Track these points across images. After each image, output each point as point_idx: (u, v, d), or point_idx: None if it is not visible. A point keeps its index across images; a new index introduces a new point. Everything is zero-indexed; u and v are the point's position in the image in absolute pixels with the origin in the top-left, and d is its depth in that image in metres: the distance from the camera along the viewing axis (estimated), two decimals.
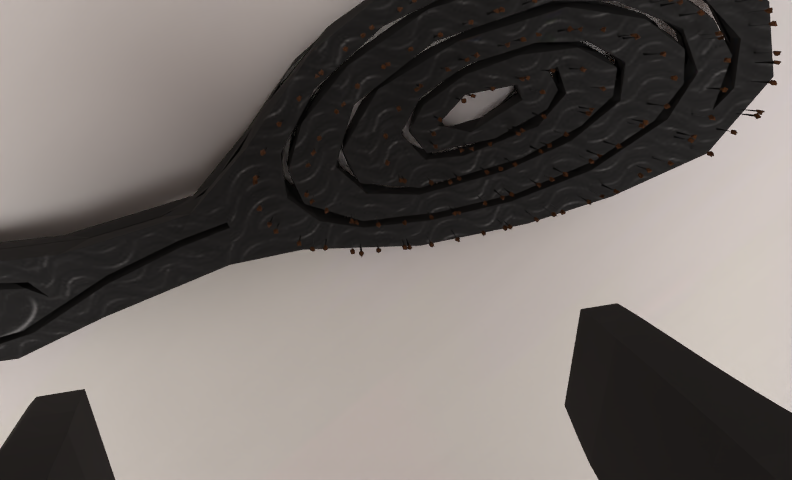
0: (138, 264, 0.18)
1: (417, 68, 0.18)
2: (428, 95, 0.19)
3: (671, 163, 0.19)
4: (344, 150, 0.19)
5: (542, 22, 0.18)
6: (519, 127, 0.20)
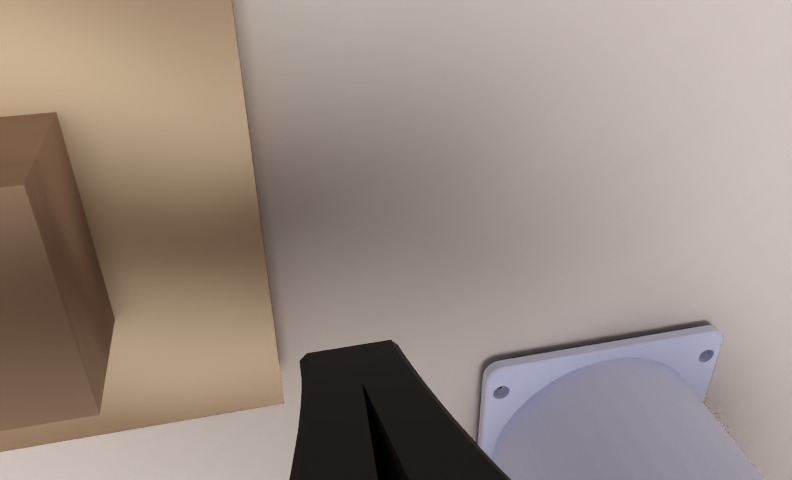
0: None
1: None
2: None
3: None
4: None
5: None
6: None
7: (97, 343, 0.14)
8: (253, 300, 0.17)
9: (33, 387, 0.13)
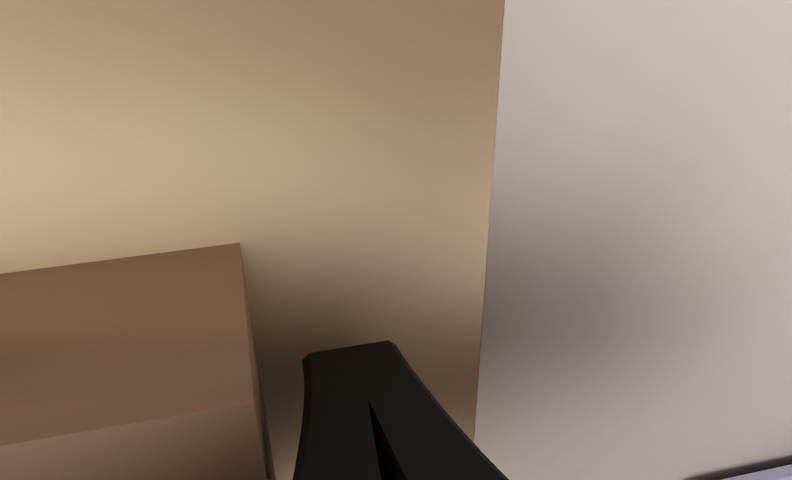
0: None
1: None
2: None
3: None
4: None
5: None
6: None
7: None
8: None
9: None
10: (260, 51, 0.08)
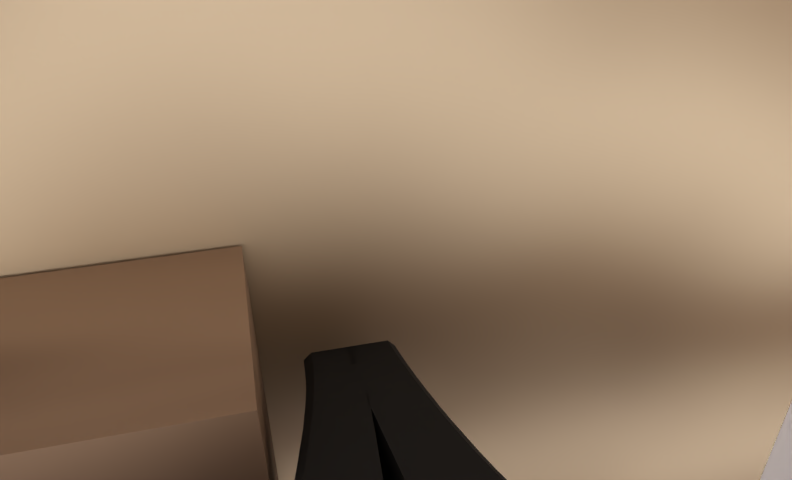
0: None
1: None
2: None
3: None
4: None
5: None
6: None
7: None
8: (780, 389, 0.14)
9: None
10: (772, 9, 0.10)
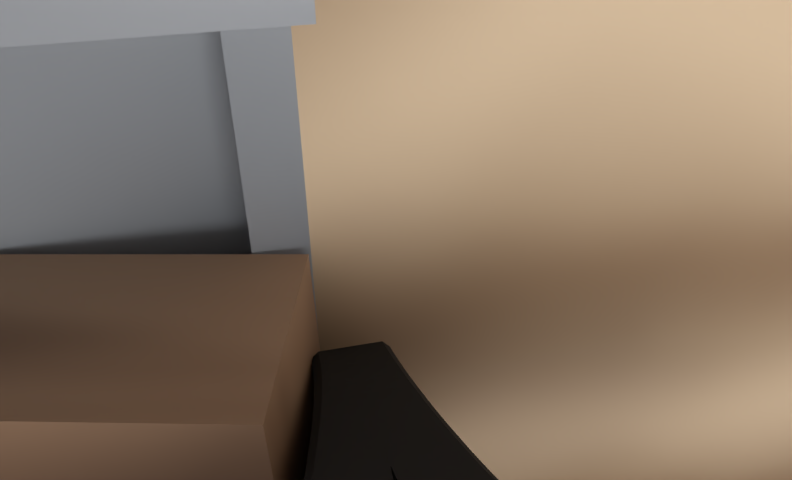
0: None
1: None
2: None
3: None
4: None
5: None
6: None
7: None
8: None
9: None
10: None
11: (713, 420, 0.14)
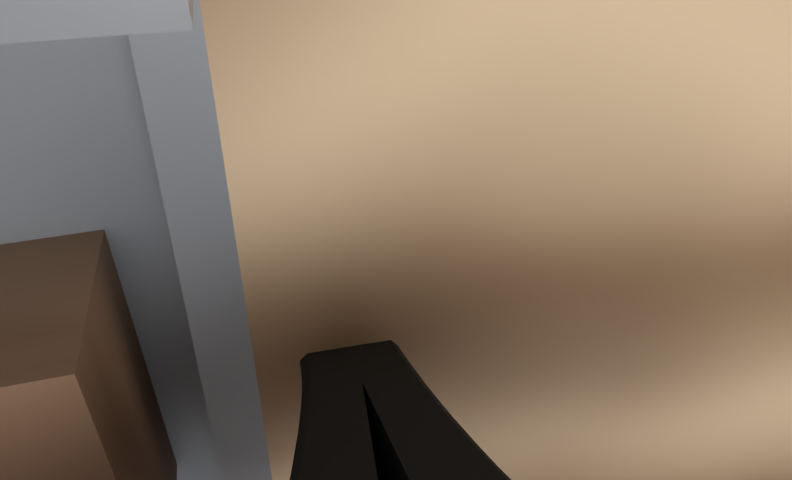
0: None
1: None
2: None
3: None
4: None
5: None
6: None
7: None
8: None
9: None
10: None
11: (671, 431, 0.14)
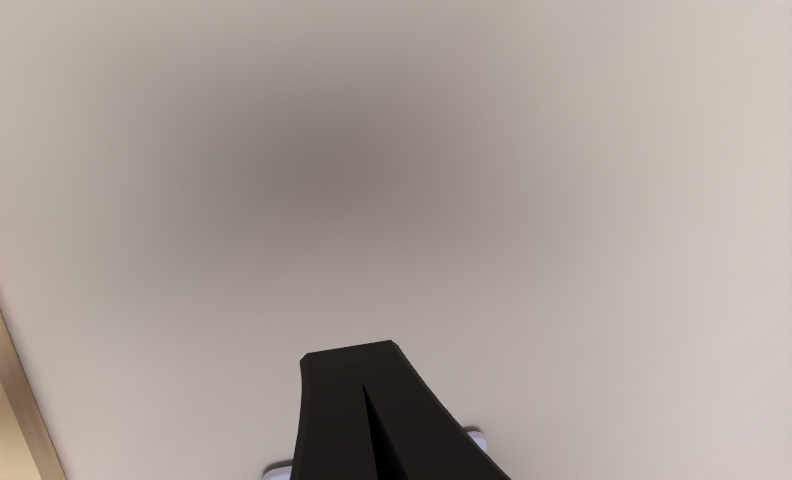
0: None
1: None
2: None
3: None
4: None
5: None
6: None
7: None
8: (10, 444, 0.19)
9: None
10: None
11: None
